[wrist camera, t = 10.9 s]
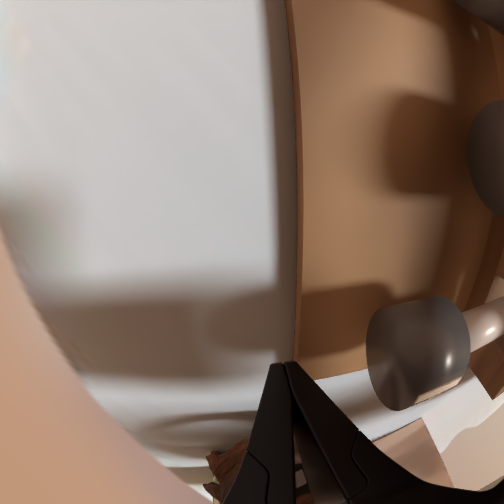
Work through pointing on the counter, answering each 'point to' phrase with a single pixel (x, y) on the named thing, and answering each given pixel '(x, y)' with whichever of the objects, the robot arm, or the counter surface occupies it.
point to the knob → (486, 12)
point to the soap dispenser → (416, 453)
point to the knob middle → (488, 155)
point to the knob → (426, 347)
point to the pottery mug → (228, 468)
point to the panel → (389, 171)
